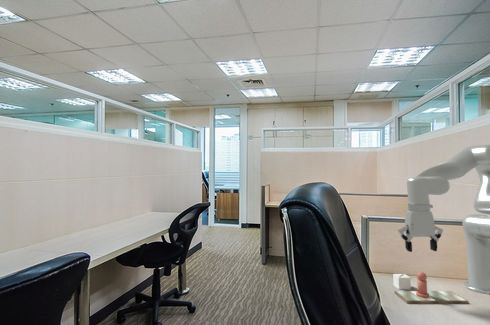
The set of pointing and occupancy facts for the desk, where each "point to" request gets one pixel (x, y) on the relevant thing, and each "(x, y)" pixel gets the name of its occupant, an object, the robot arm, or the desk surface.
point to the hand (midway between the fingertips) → (421, 250)
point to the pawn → (422, 285)
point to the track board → (431, 297)
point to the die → (402, 281)
